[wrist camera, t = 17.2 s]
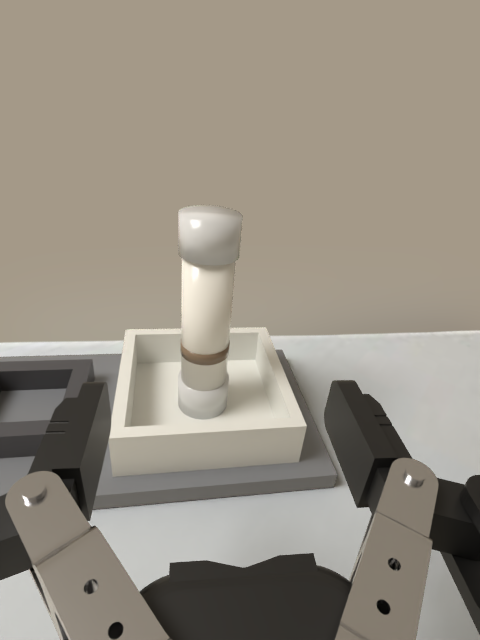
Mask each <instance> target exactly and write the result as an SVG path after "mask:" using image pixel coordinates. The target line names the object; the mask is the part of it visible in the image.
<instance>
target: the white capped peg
mask: <svg viewBox="0 0 480 640" xmlns="http://www.w3.org/2000/svg"><path fill="white" fill-rule="evenodd" d="M242 218H243V216H242V214H241V213H240V212H238V211H236V210H233V209H230V208H226V207H221V206H210V205H195V206H188V207H185V208H182V209H180V210H179V256H180V257H181V258H182V314H181V316H182V317H181V318H182V320H181V347H180V352H181V370H180V372H179V374H178V406H179V408H180V410H181V411H182V412H183V413H184V414H185V415H187V416H189V417H191V418H194V419H201V420H204V419H211V418H214V417H217V416H219V415H220V414H221V413H223V411H224V410H225V409H226V406H227V396H228V384H229V374H228V372H227V362H228V355H229V346H230V340H229V337H230V324H231V312H232V299H233V286H234V274H235V261H236V260H238V258H239V253H240V242H241V230H242Z"/></svg>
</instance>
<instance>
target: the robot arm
mask: <svg viewBox="0 0 480 640" xmlns="http://www.w3.org/2000/svg"><path fill="white" fill-rule="evenodd" d="M324 421H325V427H326V430H327V433H328V435H329V438H330V440H331V443H332V445H333V448H334V450H335V453H336V455H337V458H338V461H339V463H340V466H341V468H342V471H343V473H344V476H345V478H346V481H347V483H348V486H349V489H350V491H351V494H352V496H353V499H354V501H355V504H356V506H357V508H361V507H369V508H370V511H371V513H372V515H371V518H370V521H369V524H368V526H367V529H366V532H365V535H364V538H363V541H362V544H361V547H360V550H359V553H358V556H357V559H356V562H355V564H354V567H353V570H352V573H351V576H350V578H349V581H348V580H347V579H346V578H344V577H343V576H341V575H340V574H338V573H336V572H334V571H332V570H330V569H327V568H324V567H322V566H318V565H316V562H315V558H314V554H313V553H309V554H295V555H280V556H277V557H274V558H271V559H268V560H266V561H263V562H260V563H257V564H255V565H252V566H249V567H246V568H241V567H236V566H231V565H226V564H221V563H216V562H211V561H207V560H206V561H191V562H176V563H170V571H169V575H167V576H165V577H162V578H160V579H158V580H156V581H154V582H152V583H151V584H149V585H148V586H146V587H145V588H144V589H142V590H141V591H140V592H139V591H138V589H137V587H136V586H135V584H134V583H133V581H132V580H131V578H130V577H129V575H128V573H127V572H126V570H125V569H124V567H123V566H122V564H121V563H120V561H119V560H118V558H117V556H116V555H115V553H114V552H113V550H112V549H111V547H110V546H109V544H108V542H107V541H106V539H105V538H104V536H103V535H102V533H101V532H100V530H99V529H98V528H97V527H96V526H93V527H91V526H90V524H89V523H88V521H90V518H91V514H92V509H93V505H94V501H95V496H96V492H97V488H98V484H99V479H100V475H101V471H102V466H103V462H104V458H105V453H106V449H107V445H108V440H109V436H110V431H111V409H110V401H109V392H108V385H107V382H84V383H83V384H82V386H81V389H80V392H79V394H78V397H77V398H65V399H64V400H63V401H62V402H61V403H60V404H59V405H58V406H57V407H56V408H55V410H54V412H53V415H52V417H51V420H50V424H48V427H47V429H46V433H45V434H44V436H43V439H42V441H41V444H40V446H39V448H38V451H37V453H36V455H35V458H34V460H33V463H32V465H31V467H30V470H29V472H28V474H27V475H26V476H24V477H22V478H21V479H19V480H18V481H17V482H16V483H15V484H13V486H12V487H11V488H10V489H9V491H8V493H6V494H4V495H2V496H0V580H2V579H5V578H8V577H10V576H13V575H15V574H18V573H21V572H23V571H26V570H29V571H30V573H31V576H32V578H33V580H34V582H35V584H36V586H37V589H38V591H39V593H40V595H41V597H42V600H43V602H44V604H45V606H46V608H47V610H48V613H49V615H50V617H51V619H52V621H53V624H54V626H55V628H56V631H57V633H58V636H59V638H60V640H416V635H417V629H418V623H419V618H420V612H421V606H422V601H423V595H424V589H425V584H426V578H427V572H428V567H429V561H430V556H431V550H432V549H434V550H437V551H440V552H441V554H442V556H443V559H444V561H445V563H446V565H447V567H448V569H449V571H450V573H451V575H452V577H453V580H454V582H455V584H456V586H457V588H458V590H459V592H460V594H461V596H462V598H463V601H464V603H465V605H466V607H467V609H468V611H469V613H470V615H471V617H472V619H473V622H474V624H475V626H476V628H477V630H478V632H479V634H480V475H475V476H472V477H470V478H469V479H468V480H467V482H466V484H465V485H464V484H460V483H455V482H451V481H447V480H443V479H439V478H437V477H436V476H435V474H434V473H433V471H432V470H431V469H430V468H429V467H427V466H426V465H425V464H423V463H421V462H419V461H417V460H414V459H412V457H411V456H410V454H409V452H408V450H407V449H406V447H405V445H404V444H403V442H402V440H401V439H400V437H399V435H398V434H397V432H396V430H395V428H394V427H393V426H392V423H391V422H390V420H389V418H388V417H386V413H385V412H384V410H383V408H382V407H381V405H380V403H378V402H377V401H376V400H375V399H374V398H373V397H371V396H370V395H369V394H362V392H361V390H360V389H359V387H358V385H357V383H356V382H355V381H353V380H341V381H333V382H332V384H331V388H330V392H329V396H328V400H327V404H326V408H325V413H324Z"/></svg>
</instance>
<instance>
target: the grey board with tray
mask: <svg viewBox="0 0 480 640" xmlns="http://www.w3.org/2000/svg"><path fill="white" fill-rule="evenodd" d="M229 340H230V346H229V355H228V362H227V372H228V374H229V384H228V396H227V406H226V409H225V410H224V411H223V413H221V414H220V415H219V416H217V417H214V418H211V419H204V420H201V419H194V418H191V417H189V416H187V415H185V414H184V413H183V412H182V411H181V410H180V408H179V406H178V374H179V372H180V370H181V352H180V347H181V329H128V330H126V332H125V339H124V344H123V350H122V354H96V355H57V356H19V357H0V496H2V495H4V494H6V493H8V491H9V489H10V488H11V487H12V486H13V484H15V483H16V482H17V481H18V480H19V479H21V478H22V477H24V476H26V475H27V474H28V472H29V470H30V467H31V465H32V463H33V460H34V458H35V455H36V453H37V451H38V448H39V446H40V444H41V441H42V439H43V436H44V434H45V433H46V429H47V427H48V424H50V420H51V417H52V415H53V412H54V410H55V408H56V407H57V406H58V405H59V404H60V403H61V402H62V401H63V400H64V399H65V398H77V397H78V394H79V392H80V389H81V386H82V384H83V383H84V382H107V385H108V392H109V401H110V409H111V431H110V436H109V440H108V445H107V449H106V453H105V458H104V462H103V466H102V471H101V475H100V479H99V484H98V488H97V492H96V496H95V501H94V505H93V509H103V508H114V507H125V506H136V505H147V504H158V503H168V502H179V501H190V500H201V499H212V498H223V497H233V496H244V495H255V494H266V493H277V492H288V491H298V490H309V489H320V488H331V487H334V485H335V481H336V478H337V473H336V470H335V468H334V466H333V464H332V461H331V459H330V457H329V455H328V452H327V450H326V448H325V445H324V443H323V441H322V439H321V436H320V434H319V432H318V430H317V427H316V425H315V423H314V421H313V418H312V416H311V414H310V412H309V409H308V407H307V405H306V403H305V400H304V398H303V396H302V393H301V391H300V389H299V387H298V384H297V382H296V380H295V378H294V375H293V373H292V371H291V369H290V366H289V364H288V362H287V360H286V357H285V355H284V353H283V351H282V350H275V348H274V346H273V343H272V341H271V339H270V336H269V334H268V332H267V329H266V328H265V327H263V328H262V327H261V328H260V327H259V328H230V337H229ZM93 509H92V510H93Z"/></svg>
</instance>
